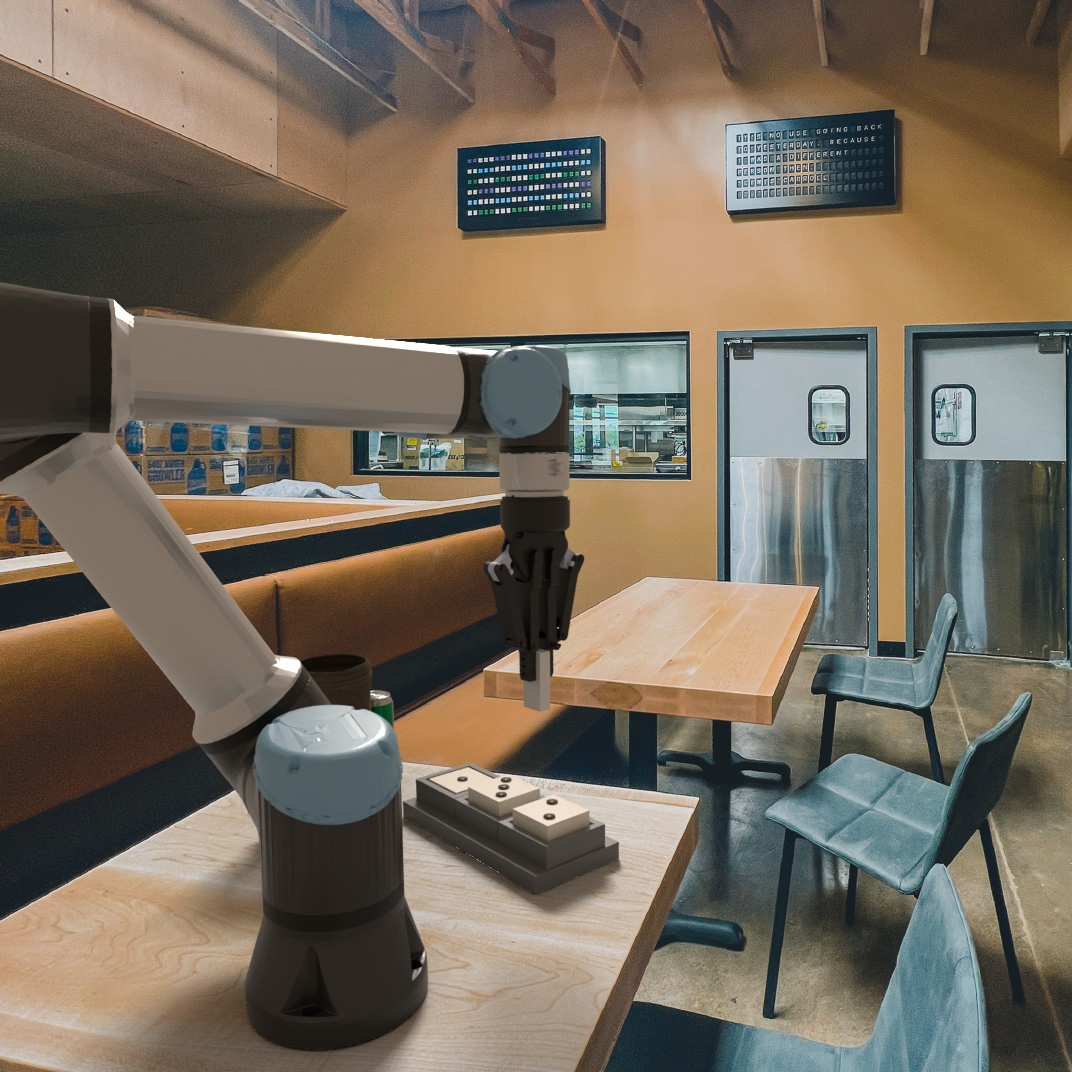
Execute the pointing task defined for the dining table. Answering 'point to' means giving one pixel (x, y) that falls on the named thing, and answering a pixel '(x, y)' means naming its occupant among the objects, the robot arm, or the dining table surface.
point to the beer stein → (342, 678)
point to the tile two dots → (550, 817)
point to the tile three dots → (502, 794)
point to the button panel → (508, 837)
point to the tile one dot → (459, 780)
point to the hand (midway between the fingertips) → (537, 707)
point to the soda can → (383, 705)
